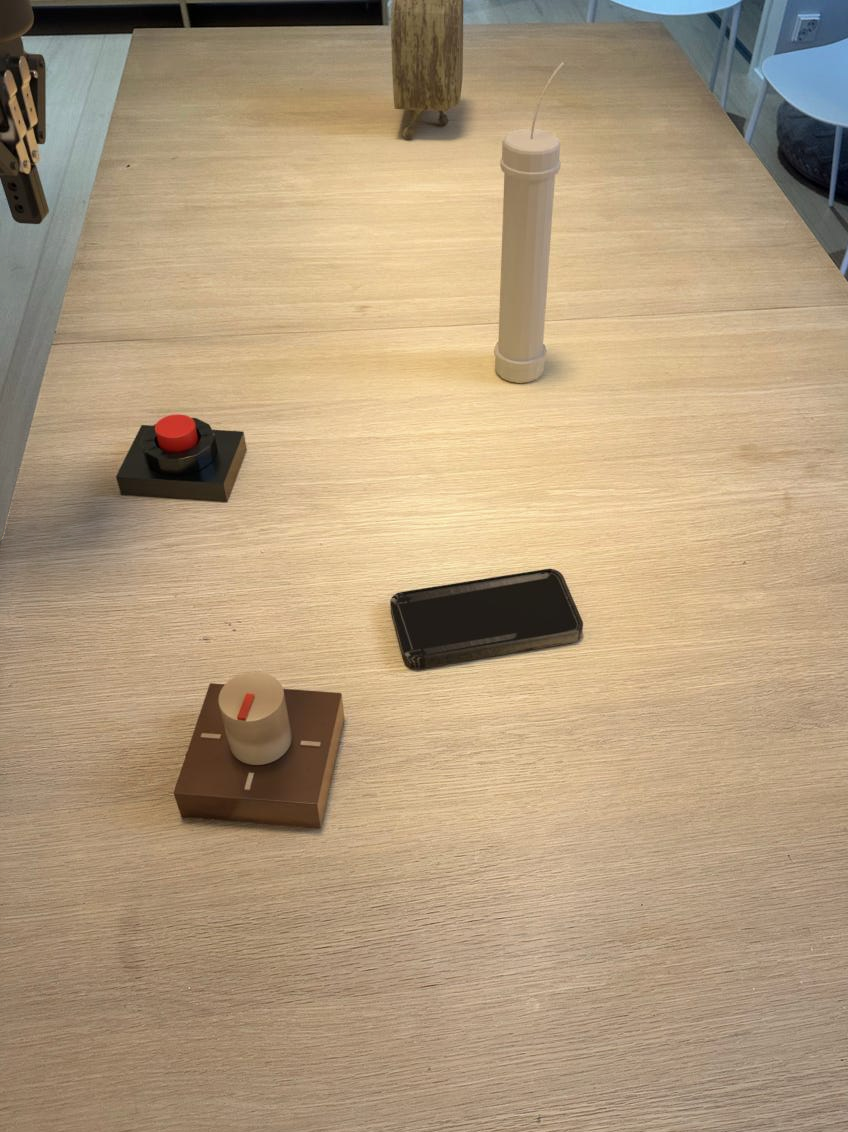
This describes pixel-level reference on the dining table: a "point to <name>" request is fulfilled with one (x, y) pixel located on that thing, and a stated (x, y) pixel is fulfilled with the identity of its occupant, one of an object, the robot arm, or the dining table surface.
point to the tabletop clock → (426, 56)
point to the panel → (263, 766)
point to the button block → (183, 466)
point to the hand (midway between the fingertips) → (32, 218)
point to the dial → (255, 718)
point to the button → (176, 433)
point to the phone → (484, 618)
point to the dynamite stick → (525, 249)
